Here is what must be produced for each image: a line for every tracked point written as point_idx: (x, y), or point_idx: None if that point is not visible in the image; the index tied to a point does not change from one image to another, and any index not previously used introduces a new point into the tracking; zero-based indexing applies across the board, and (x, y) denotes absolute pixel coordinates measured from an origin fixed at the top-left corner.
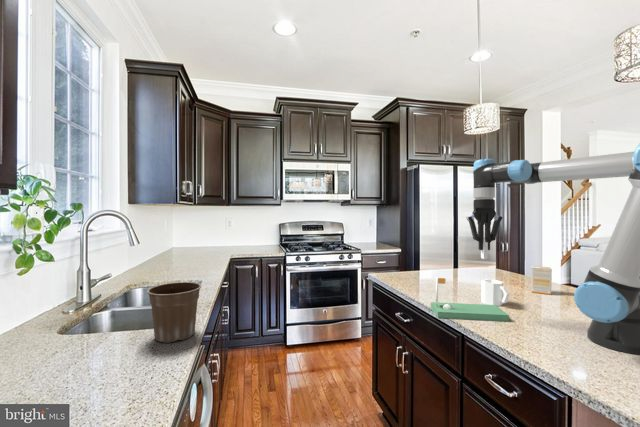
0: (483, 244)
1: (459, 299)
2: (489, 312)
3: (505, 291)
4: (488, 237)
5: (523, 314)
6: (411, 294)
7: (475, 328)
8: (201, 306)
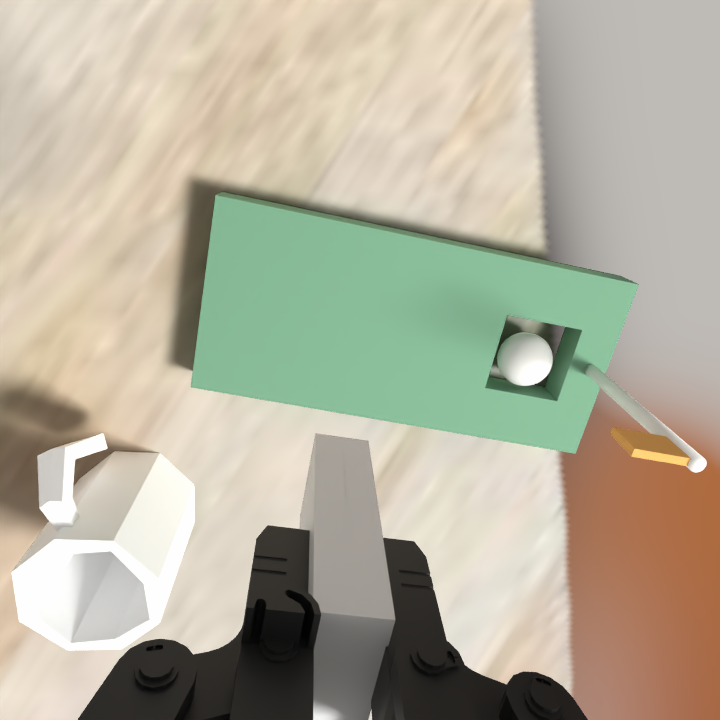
0: (388, 595)
1: None
2: (316, 253)
3: (61, 468)
4: (286, 716)
5: (51, 303)
6: (544, 646)
7: (502, 94)
8: None
